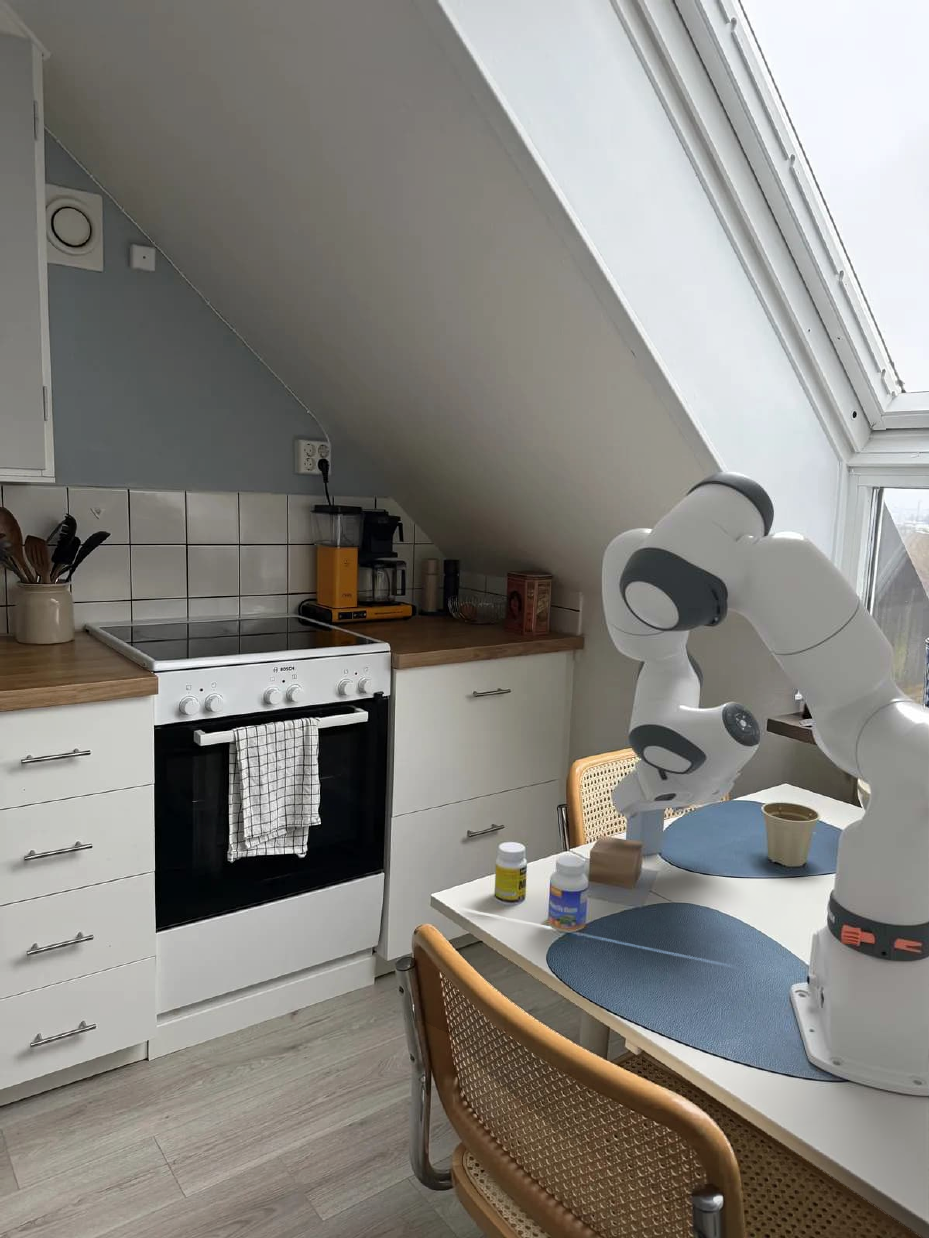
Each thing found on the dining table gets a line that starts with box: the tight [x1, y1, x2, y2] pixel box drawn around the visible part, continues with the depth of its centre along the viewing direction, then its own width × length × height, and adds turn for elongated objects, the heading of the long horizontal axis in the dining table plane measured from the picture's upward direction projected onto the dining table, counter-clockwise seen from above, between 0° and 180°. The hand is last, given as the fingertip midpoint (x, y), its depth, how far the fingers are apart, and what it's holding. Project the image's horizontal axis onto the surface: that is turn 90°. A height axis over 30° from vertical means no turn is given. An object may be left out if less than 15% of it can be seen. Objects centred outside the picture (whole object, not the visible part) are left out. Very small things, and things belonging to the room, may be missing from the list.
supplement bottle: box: [493, 841, 528, 906], centre depth 139 cm, size 5×5×8 cm
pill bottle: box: [547, 854, 588, 934], centre depth 132 cm, size 5×5×10 cm
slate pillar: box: [625, 809, 666, 856], centre depth 158 cm, size 4×4×10 cm
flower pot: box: [760, 801, 821, 867], centre depth 157 cm, size 9×9×9 cm
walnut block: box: [589, 835, 644, 889], centre depth 148 cm, size 7×7×5 cm
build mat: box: [583, 857, 659, 909], centre depth 146 cm, size 14×12×1 cm
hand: (651, 811), depth 155 cm, fingers open, 8 cm apart
